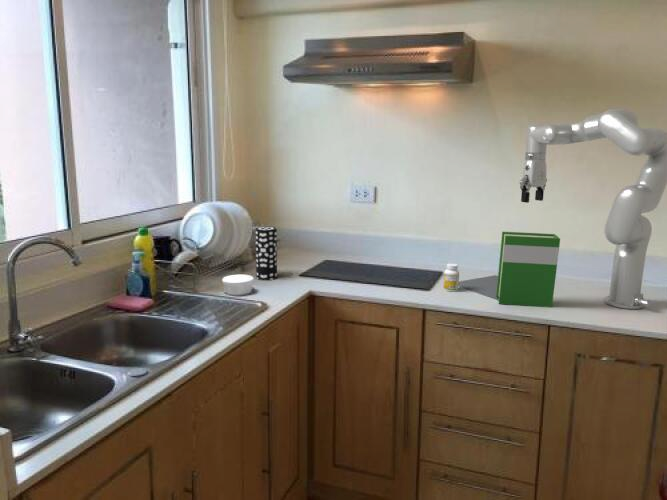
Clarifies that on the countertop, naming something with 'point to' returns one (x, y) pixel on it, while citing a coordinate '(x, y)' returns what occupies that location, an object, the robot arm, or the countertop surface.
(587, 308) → the countertop surface
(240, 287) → the ramekin
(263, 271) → the spotted tube
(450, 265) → the supplement bottle
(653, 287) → the countertop surface
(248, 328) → the countertop surface
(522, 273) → the hardback book
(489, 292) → the mat
